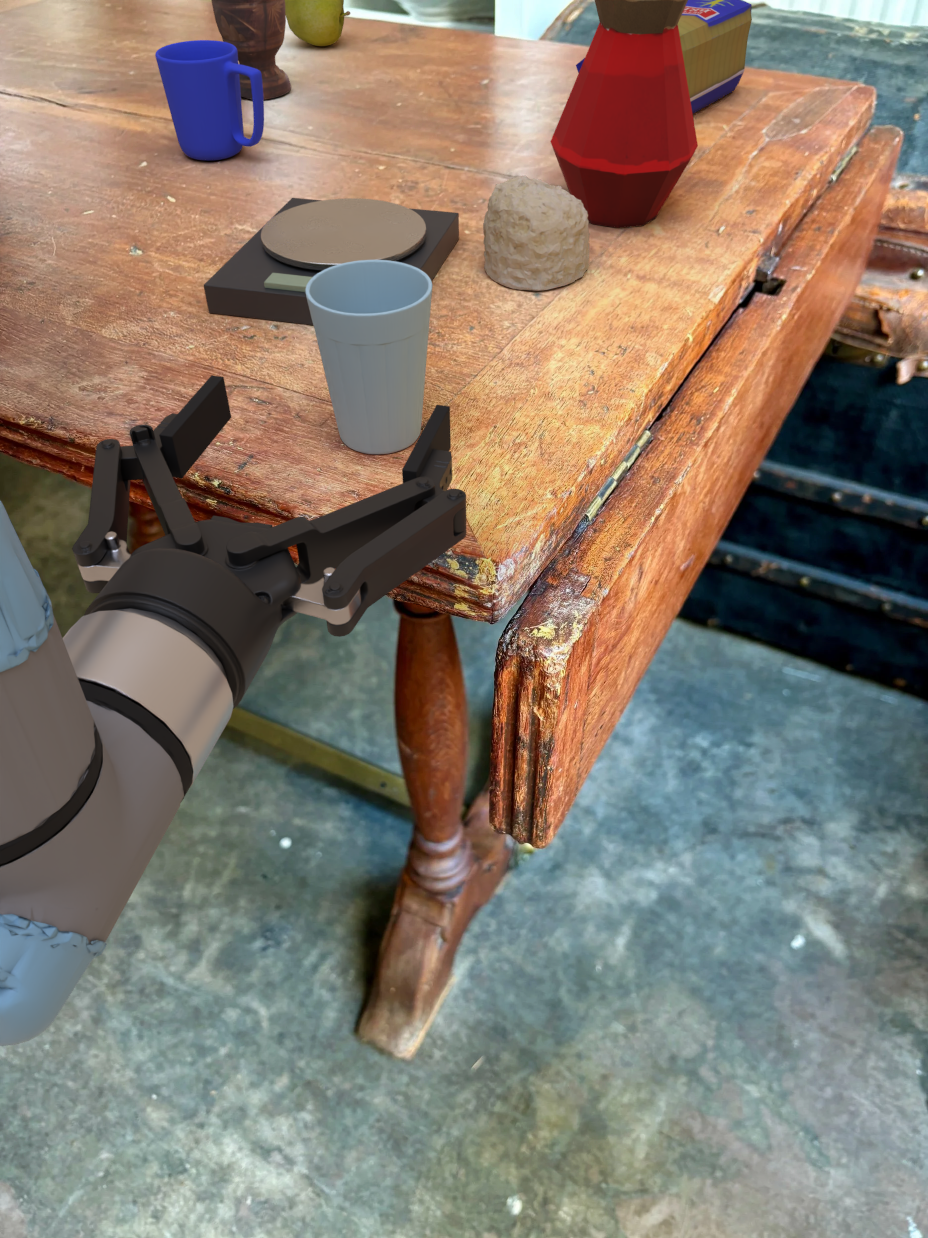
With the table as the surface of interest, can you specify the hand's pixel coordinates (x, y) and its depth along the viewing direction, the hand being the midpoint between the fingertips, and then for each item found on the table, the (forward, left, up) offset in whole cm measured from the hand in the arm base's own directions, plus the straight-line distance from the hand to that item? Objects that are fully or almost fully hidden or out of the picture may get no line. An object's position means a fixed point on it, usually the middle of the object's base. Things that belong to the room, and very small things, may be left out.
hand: (330, 410), depth 57 cm
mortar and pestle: (-38, +77, -7) cm, 86 cm away
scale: (-11, +31, -6) cm, 33 cm away
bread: (+11, +83, -7) cm, 84 cm away
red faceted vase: (+10, +51, -7) cm, 52 cm away
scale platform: (-11, +32, -4) cm, 34 cm away
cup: (0, +8, -7) cm, 10 cm away
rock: (+5, +36, -7) cm, 37 cm away
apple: (-39, +101, -7) cm, 108 cm away
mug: (-33, +56, -7) cm, 65 cm away
